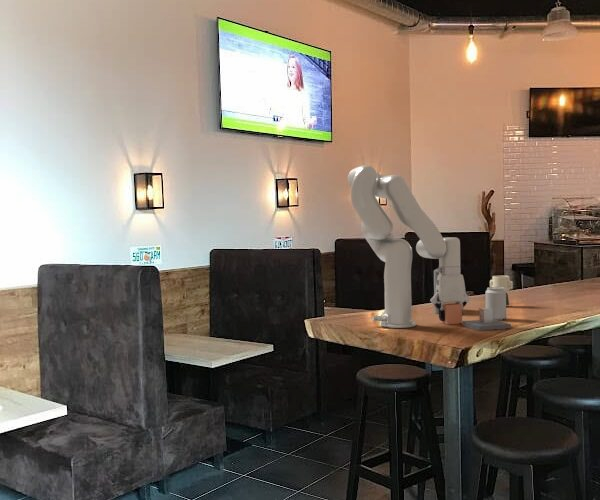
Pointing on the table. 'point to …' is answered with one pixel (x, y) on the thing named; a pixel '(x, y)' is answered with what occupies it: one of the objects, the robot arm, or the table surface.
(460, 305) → the salmon pink cube
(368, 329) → the table surface
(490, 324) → the post base
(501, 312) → the can
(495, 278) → the character mug
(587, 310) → the table surface
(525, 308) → the table surface
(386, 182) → the robot arm
